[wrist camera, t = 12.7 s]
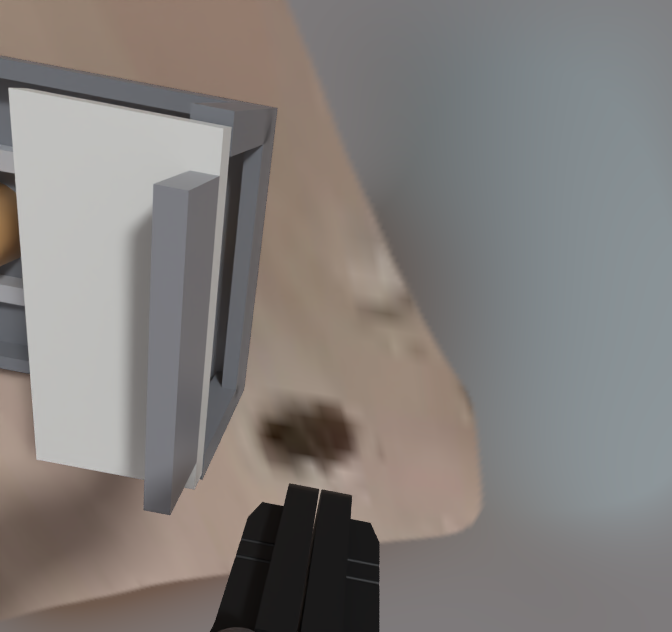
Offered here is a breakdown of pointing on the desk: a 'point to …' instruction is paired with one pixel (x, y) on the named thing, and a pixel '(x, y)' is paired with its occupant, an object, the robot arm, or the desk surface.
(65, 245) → the lid
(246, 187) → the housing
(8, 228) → the tan egg
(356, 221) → the desk surface
